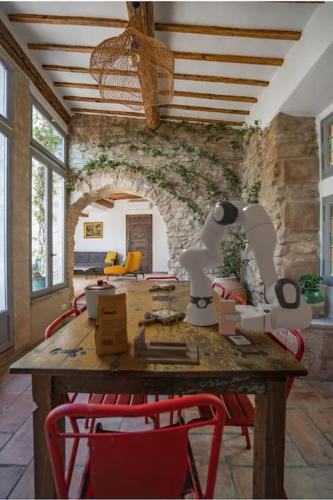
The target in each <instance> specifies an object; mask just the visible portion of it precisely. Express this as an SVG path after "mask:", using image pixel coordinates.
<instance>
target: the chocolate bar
mask: <svg viewBox="0 0 333 500" xmlns="http://www.w3.org/2000/svg"><path fill="white" fill-rule="evenodd" d="M221 335H222V336H223V338H225V339H226V340H227V341H228V342H229V343H230V344H231V345H232V346H241V345H242V346H243V345H244V346H245V345H255V342H254V341H253V340H252V339H250V338H249V337H248V336H247V335H245V334H244V333H243V332H242V331H240V330H239V329H236V328H235V335H230V334H221Z"/></svg>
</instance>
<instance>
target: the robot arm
mask: <svg viewBox="0 0 333 500" xmlns="http://www.w3.org/2000/svg"><path fill="white" fill-rule="evenodd" d="M238 226H239V227H240V226H242V228H243V231H244V233H245V235H246V239H247V241H248V244H249V246H250V248H251V251H252V253H253V256H254V258H255V262H256V265H257V267H258V271H259V274H260V279H261V281H262V283H263V301H264V303H258V304H257V306H253V305H247V304H236V305H235V315H233V314H225V318H226V320H233V321H235V322H239V325H240V326H241V328H242V329H245V330H250V331H260V332H261V331H263V332H264V333H271V331H272V330H277V329H282V330H287V331H288V330H290V331H291V330H295V331H296V330H297V331H298V330H303V329H307V328H309V327H310V326H311V324H312V322H313V317H314V315H313V313H314V312H313V309H312V308H311V307H310V305H308V303H307V302H306V301H305V298H304V296H303V295H302V292H301V287H300V285H299V284H298V283H297V281H295V280H294V279H292V278H289V277H282V278H279V275H278V272H277V269H276V266H275V260H274V255H275V252H276V248H277V244H278V234H277V230H276V228H275V226H274V224H273V221H272V219H271V217H270V216H269V213H268V212H267V211H266V209H265V208H264V206H263V205H262V204H260V203H253V202H251V201H244V200H221V201H218V202H216V203H215V205H214V206H213V207H212V209H211V210H210V211H209V213H208V215H207V217H206V219H205V221H204V224H203V225H202V228H201V230H200V234H199V239H200V242H202V244H203V246H201V247H188V248H185V249H182V250H181V251H180V252H179V254H178V257H177V258H178V264H179V265H180V267H181V268H183V269H184V270H185V271H186V274H187V275H188V278H189V280H190V295H189V302H190V303H189V304H188V305H187V306H186V316H185V318H184V319H183V323H186V324H189V325H192V326H199V327H205V326H206V327H209V326H213V325H216V324H219V318H217V307H216V306H215V304H214V295H213V281H212V279H211V277H209V276H207V274H206V273H205V270H206V269H213V268H214V269H215V268H217V267H220V266H222V265H223V263H224V260H225V256H224V253H223V251H222V249H221V244H222V241H223V239H224V237H225V235H226V232H227V231H228V228H229V227H238Z"/></svg>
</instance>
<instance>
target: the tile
mask: <svg viewBox="0 0 333 500" xmlns="http://www.w3.org/2000/svg"><path fill="white" fill-rule="evenodd" d="M218 303H219V307H218V311H219V312H218V314H219V315H218V320H219V323H218V324H219V325H218V333H219V335H222V334H230V335H235V329H236V321H233V320H226V318H225V314H233V315H235V305H237V304H236V303H237V302H236V300H235V299H219V302H218Z"/></svg>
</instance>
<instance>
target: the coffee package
mask: <svg viewBox="0 0 333 500" xmlns="http://www.w3.org/2000/svg"><path fill="white" fill-rule="evenodd" d="M127 311H128V310H127V294H126V292H121V293H115V295H105V294H99V295H98V308H97V319H96V322H95V327H94V345H95V353H96V354H97V355H98V356H102V355H107V354H110V355H118V354H120V353H121V354H122V353H125V352H127V351H128V346H129V345H128V342H129V341H128V340H129V339H128V325H127V324H128V312H127Z"/></svg>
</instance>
